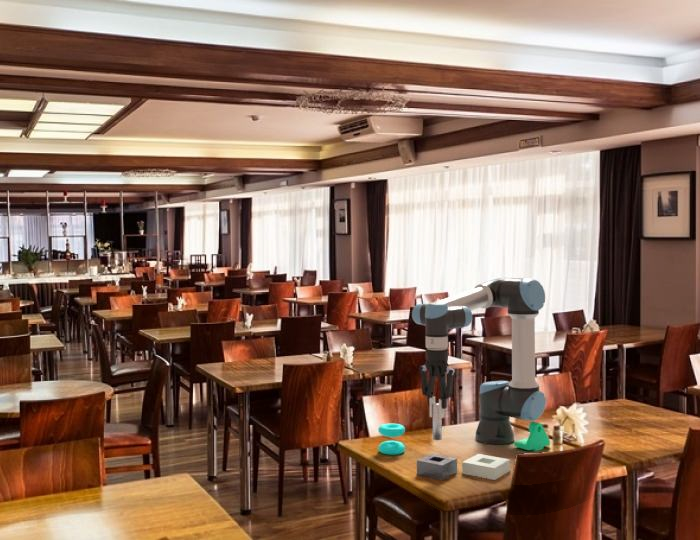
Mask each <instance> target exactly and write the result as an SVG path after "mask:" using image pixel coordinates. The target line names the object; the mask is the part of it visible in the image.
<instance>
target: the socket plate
mask: <svg viewBox="0 0 700 540" xmlns="http://www.w3.org/2000/svg"><path fill="white" fill-rule="evenodd" d="M461 463H462V464H461V465H462V466H461V467H462V469H461V472H462V474H463V475H467V476H472V477H476V476H477V477H478V478H481V477H482V478H483V479H486V478H487V480H493V481H496V480H498V479H499V478H501V477H502V476H504V475H506V474H507V473H509V472H510V471H511V459H510V458H504V457H498V456H493V455H486V454H482V453H477V454H475V455H473V456H471V457H470V458H468V459H466V460H464V461H462V462H461Z"/></svg>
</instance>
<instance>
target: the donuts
mask: <svg viewBox="0 0 700 540" xmlns="http://www.w3.org/2000/svg"><path fill="white" fill-rule="evenodd" d="M405 432H406V427H405V426H404V425H402V424H400V423H394V422H393V423H383V424H381V425H379V427H378V433H379V434H380V435H382V436H384V437H387V438H397V437H400V436H402V435H404V433H405ZM378 450H379V452H380V453H381V454H384V455H388V456H394V455H395V456H396V455H397V456H398V455H400V454H402V453H403V454H404V452H405V450H406V446H405V445H404V444H403V442H401V441H398V440H386V441H383V442H381V443H380V444H379V445H378Z"/></svg>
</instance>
